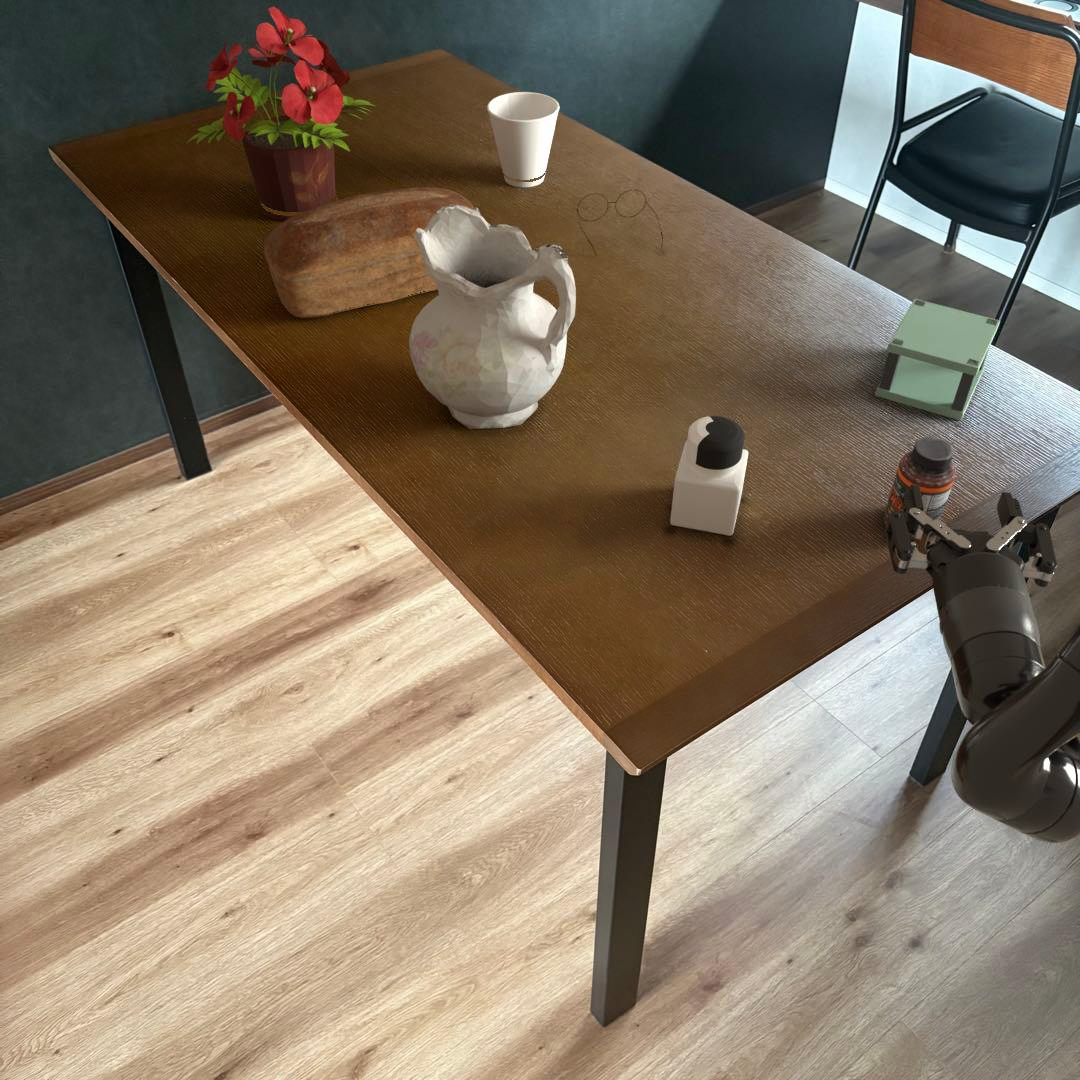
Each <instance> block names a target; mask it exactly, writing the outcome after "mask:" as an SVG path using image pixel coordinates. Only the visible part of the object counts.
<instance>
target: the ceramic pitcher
mask: <svg viewBox="0 0 1080 1080" xmlns="http://www.w3.org/2000/svg"><path fill="white" fill-rule="evenodd" d="M436 213H437V214H435V215H434V216H433V217H432V218H431V219H430V221H429V222H428V224H427V226H426V228H425V229H423V230H422V229H421V228H417V230H416V232H415V237H414V238H415V239H416V240H417V242H418V244H419V248H420V252H421V256H422V258H423V261H424V264H425V267H426V268H427V270H428V272H429V274H430V276H431V277H432V279H433V280H434V281H435V283H436V285H437V288H438V290H437V292H438V295H437V296H436V297H433V298H432V300H431V301H429V302H428V303H426V305H425V306H423V307H422V309H421V310H420V312H419V313H418V314H417V315H416V317H415V319H414V321H413V323H412V326H411V330H410V334H409V335H410V336H409V339H408V345H409V354H410V359H411V362H412V364H413V367H414V370H415V373H416V376H417V377H418V379H419V381H420V382H421V384H422V385H423V387H424V388H425V389H426V391H427V392H429V393H430V394H431V395H432V396H433V397H434V398H435V399H436V400H437V401H438V402H439V403H441V404H442V405H444V406H446V407H447V408H448V410H449V412H450V414H451V417H452V418H453V419H455V421H457V422H459V423H460V424H462V425H463V426H465V427H466V428H467V429H469V430H474V429H475V430H478V429H505V428H509V427H515V426H521V425H522V424H524V423H525V422H526V421H527V420H528V419H529V418H530V417H531V416H532V415H533V414H534V413H535V412H536V411H537V410H538V408H539V401H540V400H541V399H542V398H544V396H545V395H546V394H547V393H549V391H550V390H551V389H552V387H553V386H554V384H555V383H556V381H557V380H558V378H559V376H560V375H561V373H562V370H563V367H564V363H565V358H566V352H567V344H568V343H567V338H568V335H567V334H568V331H569V328H570V326H571V325H572V322H573V321H574V318H575V316H576V307H577V306H576V305H577V289H576V283H575V282H576V281H575V277H574V273H573V270H572V268H571V267H570V264H569V262H568V258H569V255H568V254H567V253H565V252H564V249H563V248H562V247H561V246H560V245H556V244H550V243H547V244H544V245H541V246H536V247H535V250H534V249H532V246H531V244H530V243H529V240H528V239H527V237H526V235H525V234H524V233H523V231H522V230H521V229H520V228H519V226H512V225H509V224H506V223H505V224H491V223H488V221H487V220H485V218H484V216H482V214H481V212H480V210H479V208H478V207H475V210H472V209H469V208H467V207H465V206H459V205H456V204H453V205H451V204H450V205H448V206H446V207H445V206H443V207H442V208H441V209H439V210H438V211H437V212H436ZM559 248H560V249H559ZM540 280H541V281H542V280H543V281H544V280H547V281H549V282H551V283H552V284H554V287H555V289H556V292H557V294H558V299H559V305H558V307H557V309H556V307H554V306H553V304H552V303H550V302H549V301H548V300H547V299H545V298H544V297H542V296H540V295H539V294H537V293H535V292H534V285H535V282H538V281H540Z"/></svg>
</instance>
